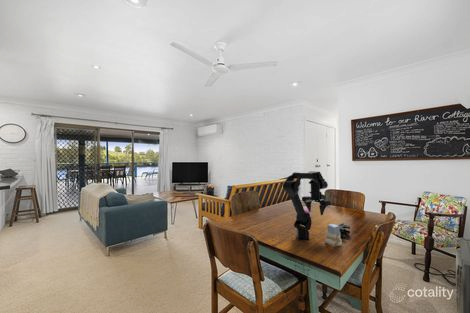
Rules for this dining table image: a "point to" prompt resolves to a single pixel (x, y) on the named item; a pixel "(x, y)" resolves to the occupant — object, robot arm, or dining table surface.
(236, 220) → the dining table surface
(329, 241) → the tower base
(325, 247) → the dining table surface
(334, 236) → the tower top
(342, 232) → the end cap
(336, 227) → the blue block
